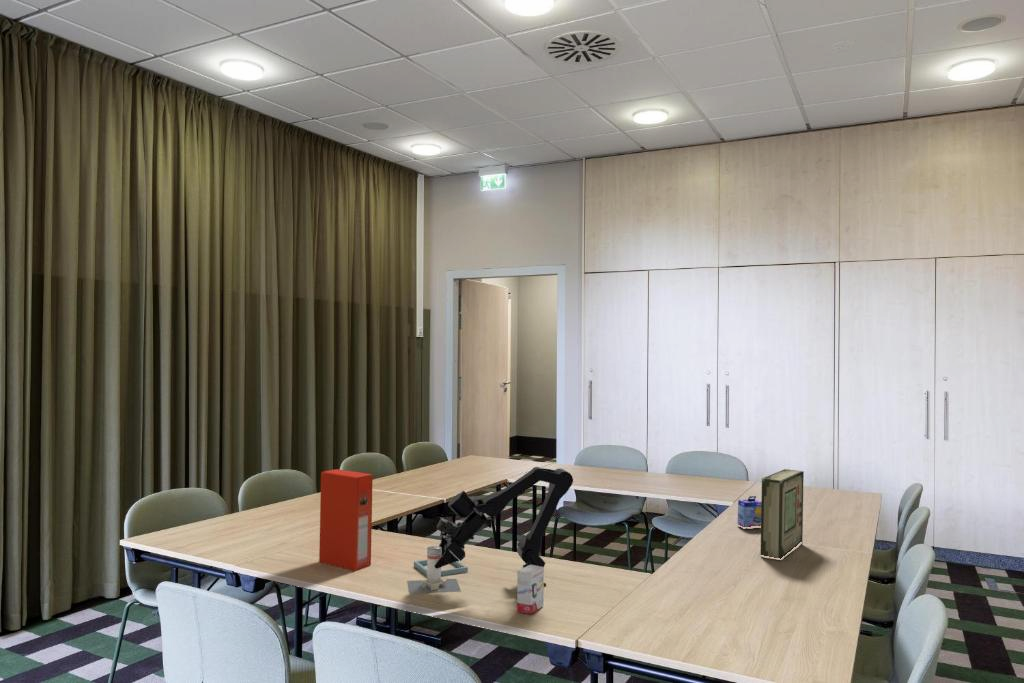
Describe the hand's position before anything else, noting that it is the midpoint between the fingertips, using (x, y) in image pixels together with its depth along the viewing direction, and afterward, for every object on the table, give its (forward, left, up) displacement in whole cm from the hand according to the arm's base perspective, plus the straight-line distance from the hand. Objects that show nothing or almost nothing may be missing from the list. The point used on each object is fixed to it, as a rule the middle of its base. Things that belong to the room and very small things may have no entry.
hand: (433, 563), depth 220 cm
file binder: (+18, -37, -8) cm, 42 cm away
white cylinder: (0, 0, -7) cm, 7 cm away
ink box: (-19, +28, -8) cm, 35 cm away
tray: (-9, -15, -8) cm, 19 cm away
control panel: (-141, +19, -8) cm, 143 cm away
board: (0, 0, -8) cm, 8 cm away
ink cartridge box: (-158, -12, -8) cm, 159 cm away
